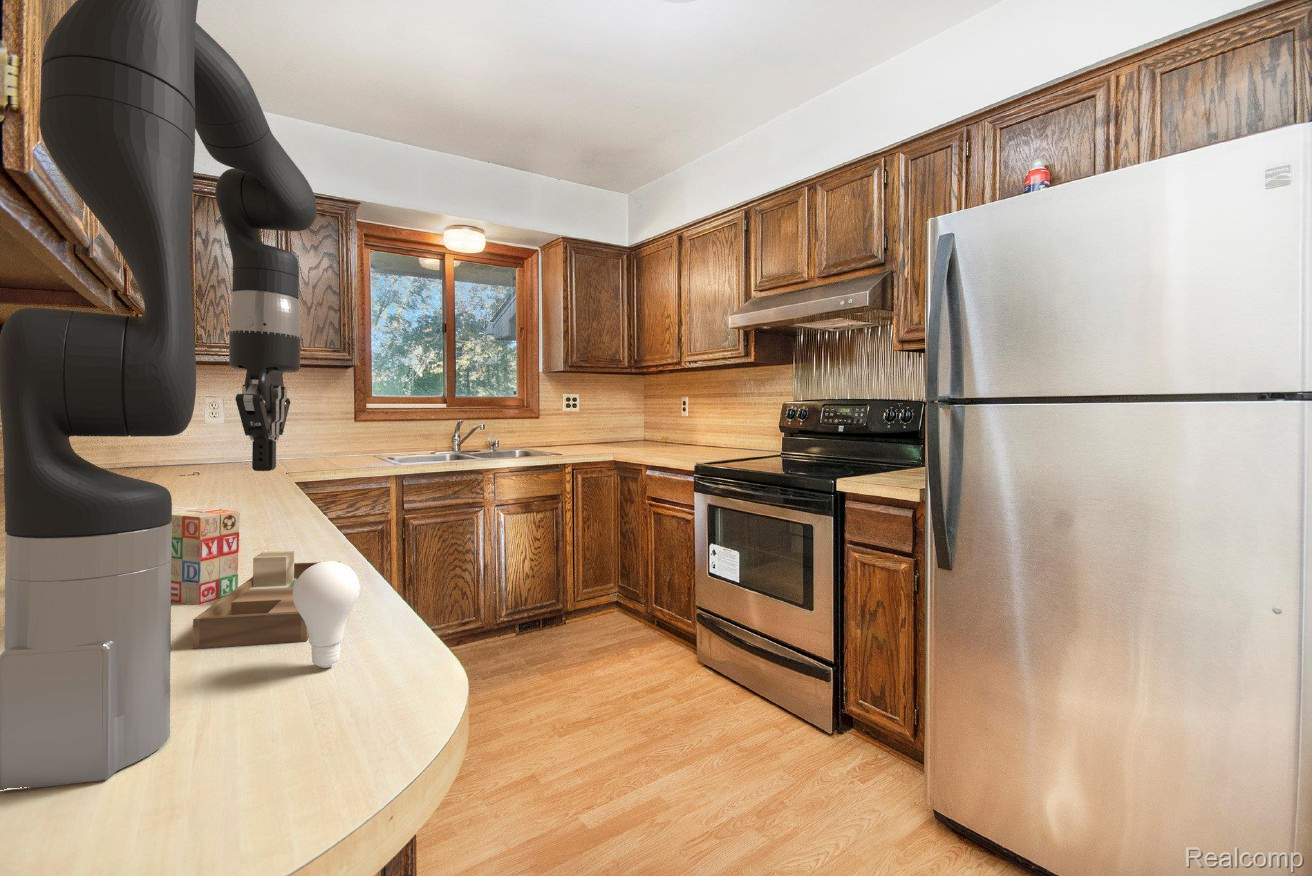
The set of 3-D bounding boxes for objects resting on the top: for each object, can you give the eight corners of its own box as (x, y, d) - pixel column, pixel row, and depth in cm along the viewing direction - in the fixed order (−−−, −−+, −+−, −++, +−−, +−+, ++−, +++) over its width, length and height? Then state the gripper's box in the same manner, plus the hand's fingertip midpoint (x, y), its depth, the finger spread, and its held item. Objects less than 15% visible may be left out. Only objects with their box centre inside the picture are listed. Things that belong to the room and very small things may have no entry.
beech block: (285, 585, 85) (286, 557, 85) (252, 587, 84) (253, 558, 84) (294, 578, 89) (294, 551, 89) (262, 579, 88) (262, 551, 88)
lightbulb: (283, 682, 60) (284, 570, 60) (301, 658, 66) (302, 556, 66) (351, 676, 62) (353, 567, 61) (363, 654, 68) (365, 554, 67)
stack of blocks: (76, 592, 88) (76, 507, 88) (122, 582, 94) (123, 501, 94) (199, 606, 83) (200, 515, 83) (239, 593, 90) (240, 509, 89)
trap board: (306, 641, 71) (307, 602, 71) (192, 649, 68) (193, 608, 68) (344, 591, 91) (344, 561, 91) (258, 595, 88) (258, 564, 88)
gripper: (284, 327, 72) (282, 475, 72) (312, 340, 84) (310, 466, 85) (209, 322, 70) (207, 475, 70) (250, 337, 82) (248, 466, 83)
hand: (264, 470), depth 77 cm, fingers closed
